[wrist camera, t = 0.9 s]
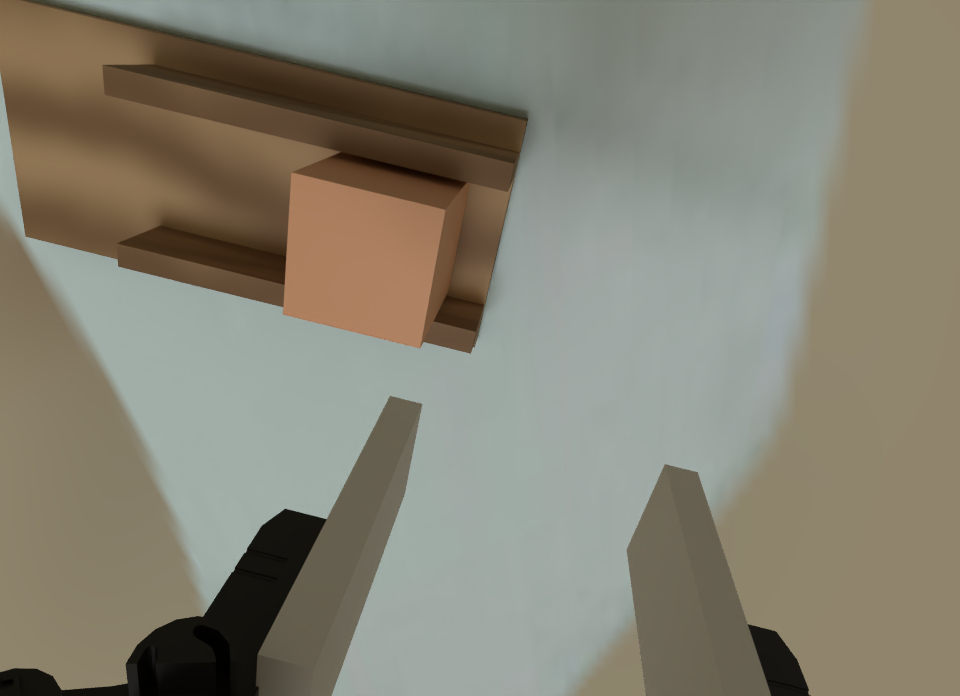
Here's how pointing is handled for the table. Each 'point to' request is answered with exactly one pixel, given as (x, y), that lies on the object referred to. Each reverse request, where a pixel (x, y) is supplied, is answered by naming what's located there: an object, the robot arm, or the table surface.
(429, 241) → the block
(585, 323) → the table surface
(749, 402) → the table surface
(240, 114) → the chute
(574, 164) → the table surface
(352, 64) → the table surface
